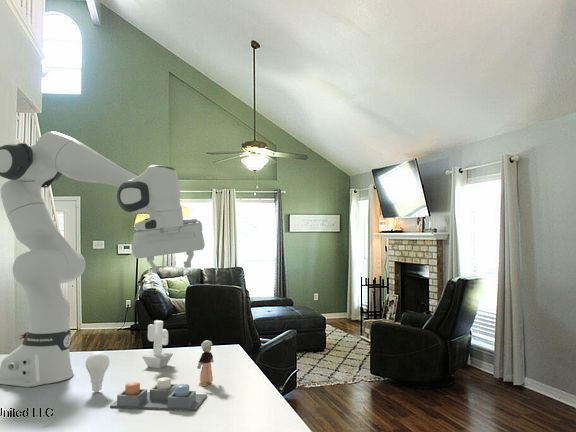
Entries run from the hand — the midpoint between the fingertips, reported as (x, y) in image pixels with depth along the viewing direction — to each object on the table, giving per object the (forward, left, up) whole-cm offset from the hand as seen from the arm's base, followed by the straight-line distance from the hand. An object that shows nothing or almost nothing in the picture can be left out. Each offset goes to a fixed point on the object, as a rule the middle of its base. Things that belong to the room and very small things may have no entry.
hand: (172, 270), depth 133 cm
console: (+1, -9, -34) cm, 35 cm away
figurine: (-12, +25, -34) cm, 44 cm away
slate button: (+7, -11, -32) cm, 34 cm away
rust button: (-6, -11, -32) cm, 34 cm away
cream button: (+1, -6, -32) cm, 32 cm away
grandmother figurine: (+9, +8, -34) cm, 36 cm away
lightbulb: (-19, -3, -34) cm, 39 cm away
